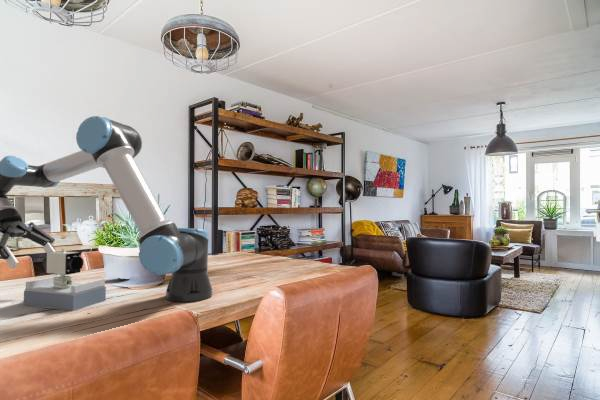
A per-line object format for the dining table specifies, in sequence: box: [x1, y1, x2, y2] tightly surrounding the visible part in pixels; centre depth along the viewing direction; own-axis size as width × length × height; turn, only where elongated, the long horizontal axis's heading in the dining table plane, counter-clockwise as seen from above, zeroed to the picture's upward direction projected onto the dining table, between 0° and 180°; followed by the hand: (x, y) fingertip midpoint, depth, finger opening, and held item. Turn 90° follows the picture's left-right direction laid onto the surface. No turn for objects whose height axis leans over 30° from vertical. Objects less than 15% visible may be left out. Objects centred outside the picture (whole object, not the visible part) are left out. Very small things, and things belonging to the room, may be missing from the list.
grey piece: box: [23, 274, 107, 312], centre depth 114 cm, size 22×12×7 cm, turn 75°
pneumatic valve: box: [42, 248, 84, 289], centre depth 113 cm, size 6×12×12 cm, turn 72°
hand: (36, 262), depth 117 cm, fingers open, 13 cm apart
